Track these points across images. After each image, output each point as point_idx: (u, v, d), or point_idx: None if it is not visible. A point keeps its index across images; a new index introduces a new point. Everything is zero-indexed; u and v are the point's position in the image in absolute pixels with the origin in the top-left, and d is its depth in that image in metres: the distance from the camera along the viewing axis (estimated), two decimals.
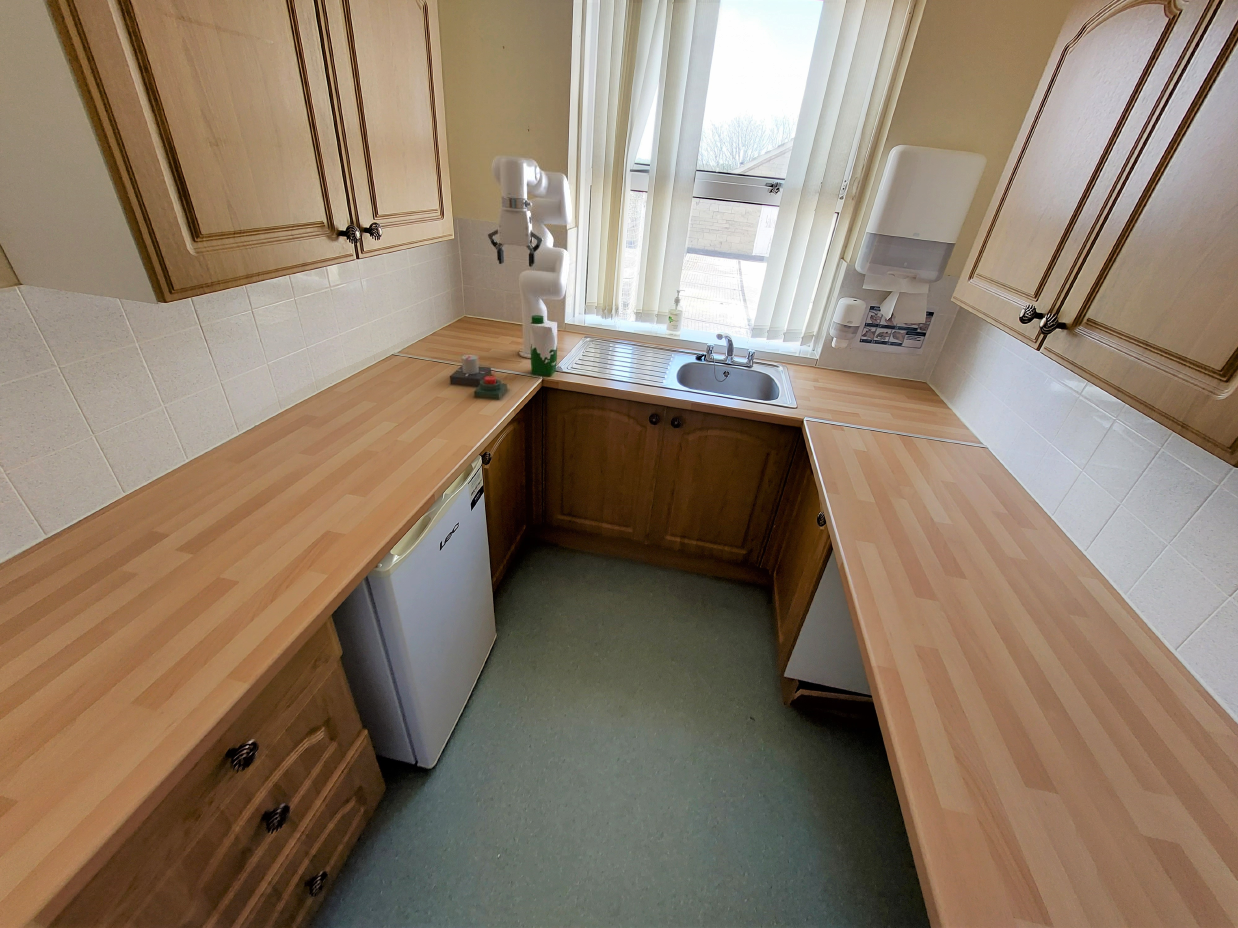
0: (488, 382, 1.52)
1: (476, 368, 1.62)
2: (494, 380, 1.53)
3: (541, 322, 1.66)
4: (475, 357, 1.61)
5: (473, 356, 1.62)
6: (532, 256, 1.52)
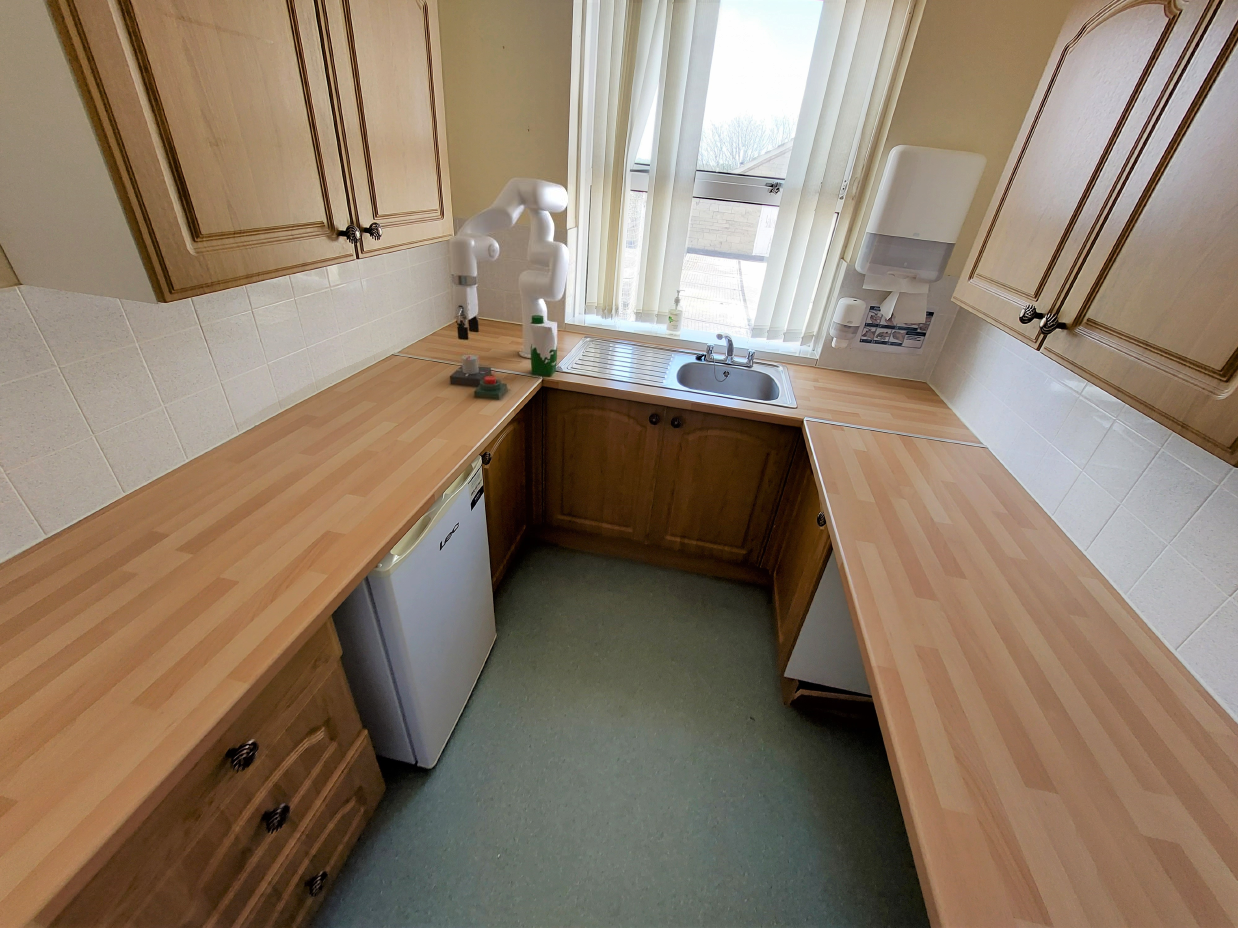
0: (488, 382, 1.52)
1: (476, 368, 1.62)
2: (494, 380, 1.53)
3: (541, 322, 1.66)
4: (475, 357, 1.61)
5: (473, 356, 1.62)
6: None
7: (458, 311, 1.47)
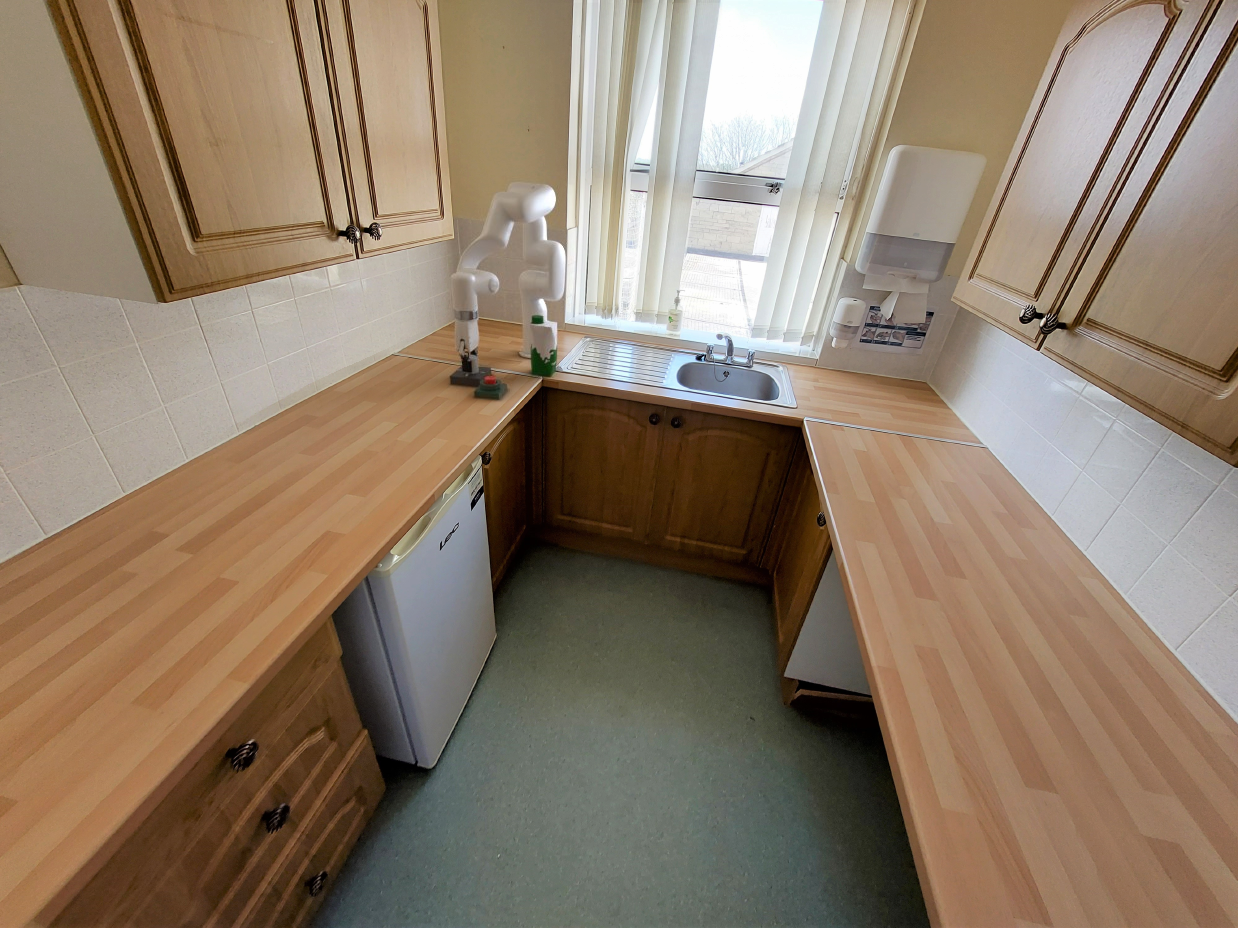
0: (488, 382, 1.52)
1: (476, 368, 1.62)
2: (494, 380, 1.53)
3: (541, 322, 1.66)
4: (475, 357, 1.61)
5: (473, 356, 1.62)
6: None
7: (461, 348, 1.53)
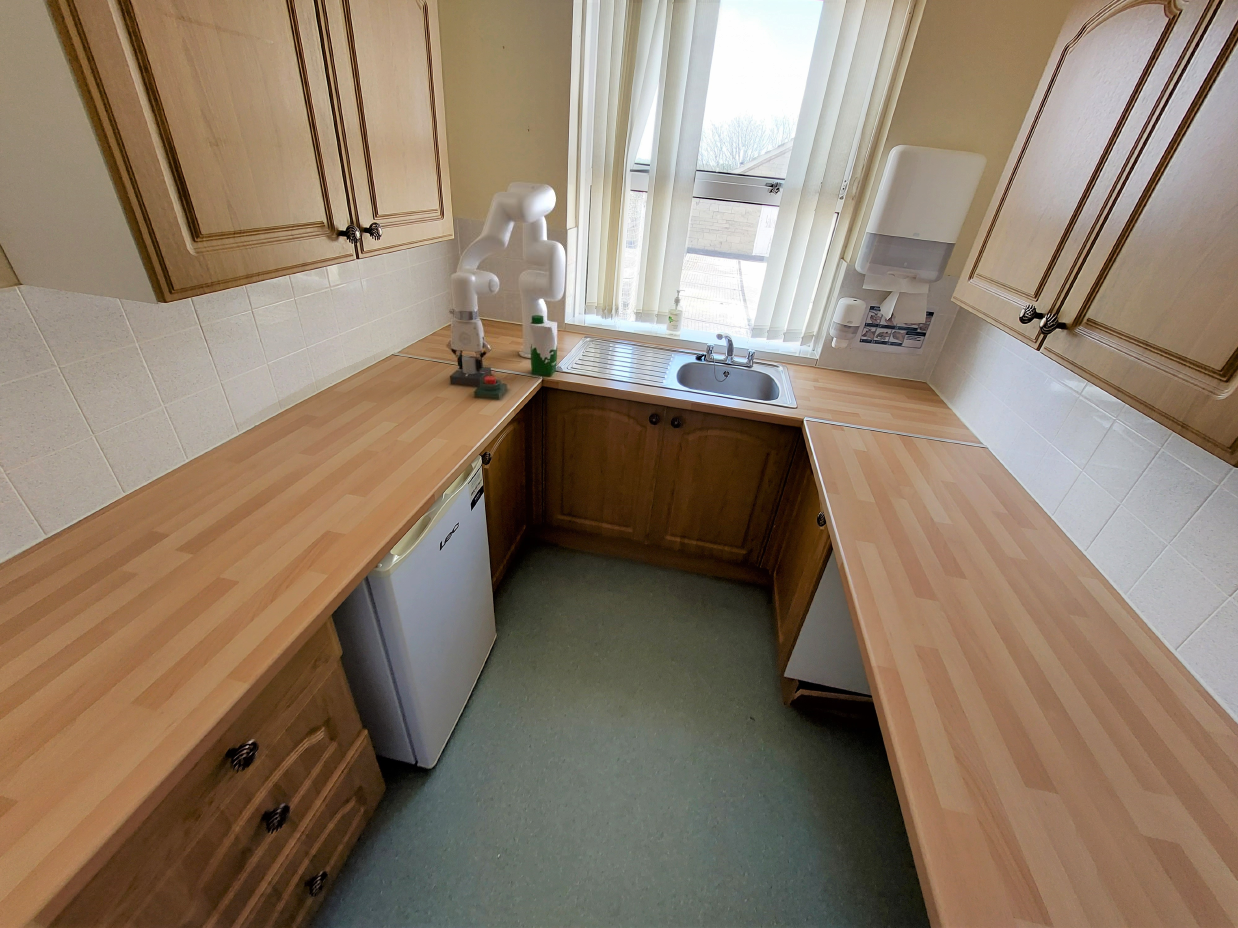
0: (488, 382, 1.52)
1: None
2: (494, 380, 1.53)
3: (541, 322, 1.66)
4: (471, 355, 1.63)
5: (467, 355, 1.62)
6: None
7: (487, 345, 1.58)
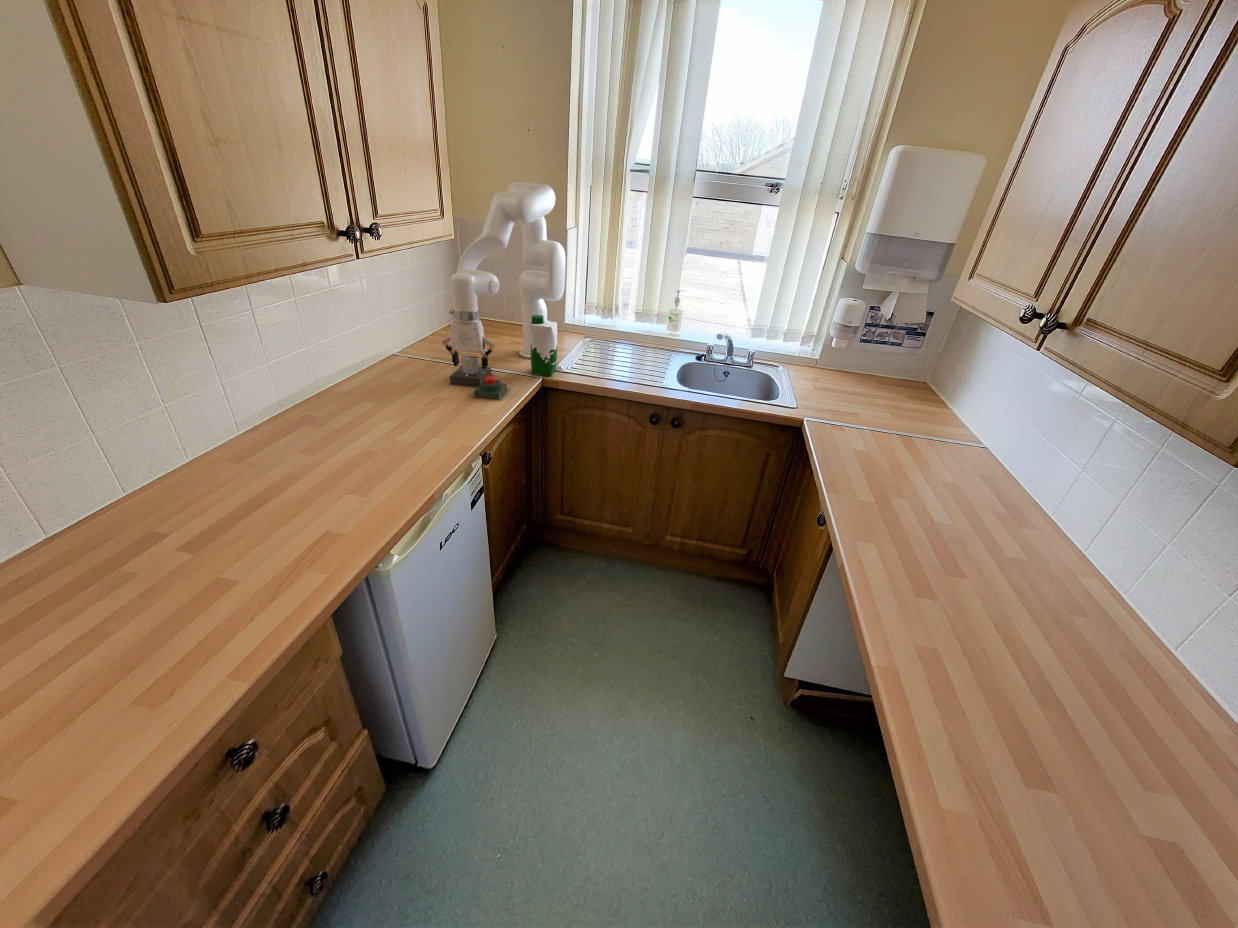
0: (488, 382, 1.52)
1: None
2: (494, 380, 1.53)
3: (541, 322, 1.66)
4: (471, 355, 1.63)
5: (467, 355, 1.62)
6: None
7: (489, 341, 1.58)
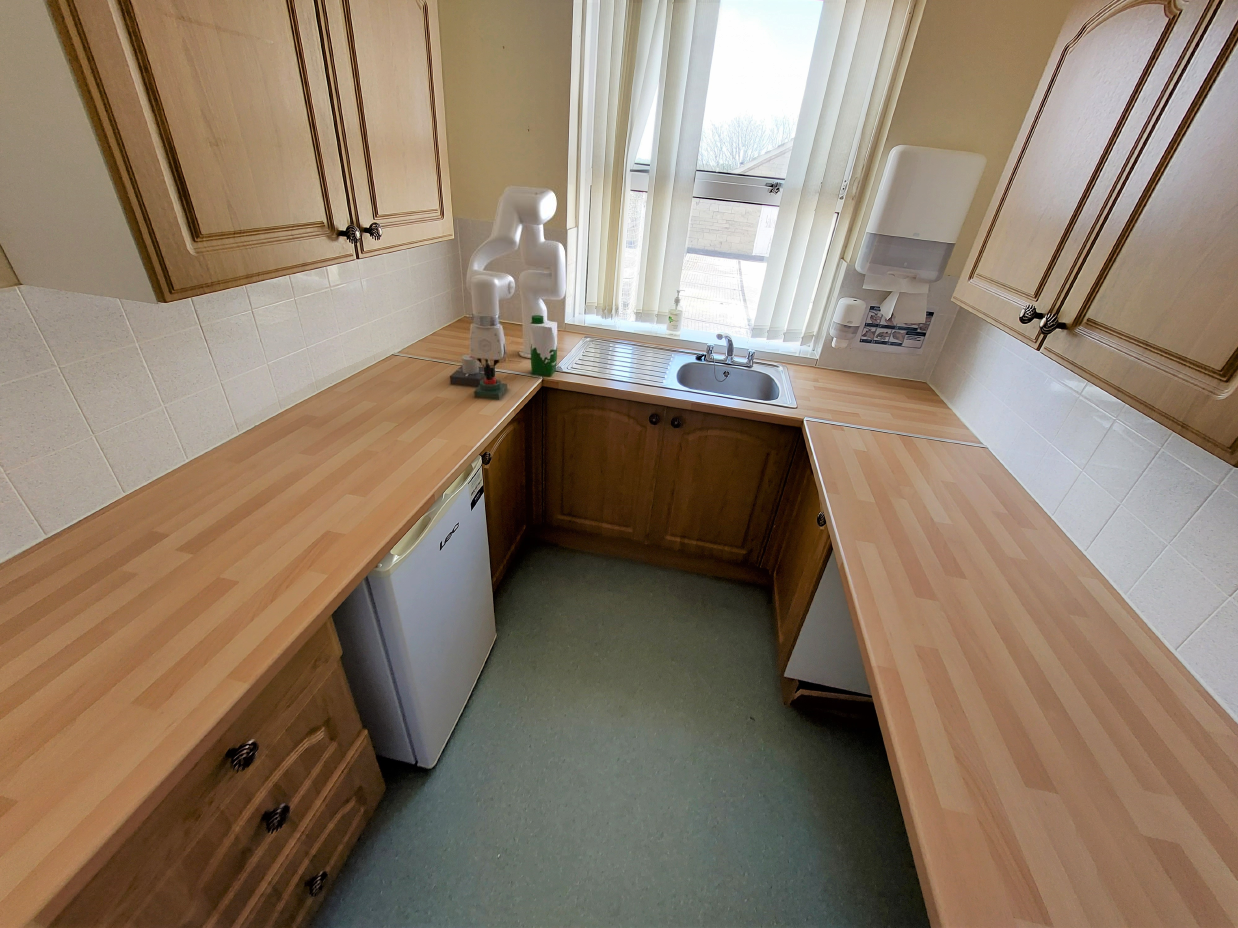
0: (488, 382, 1.52)
1: None
2: (494, 380, 1.53)
3: (541, 322, 1.66)
4: None
5: (467, 355, 1.62)
6: None
7: (504, 355, 1.49)
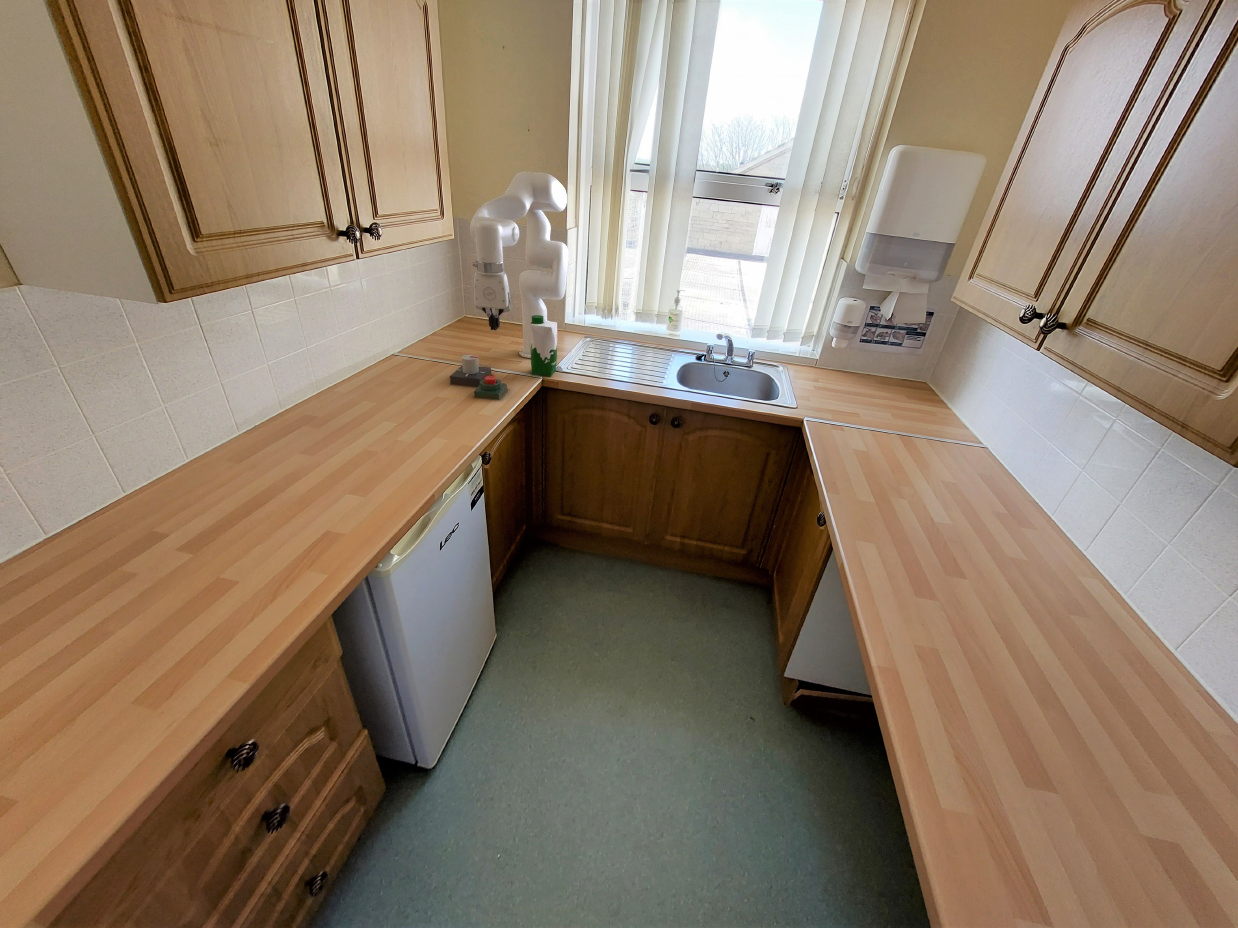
0: (488, 382, 1.52)
1: None
2: (494, 380, 1.53)
3: (541, 322, 1.66)
4: (471, 355, 1.63)
5: (467, 355, 1.62)
6: None
7: (508, 304, 1.48)
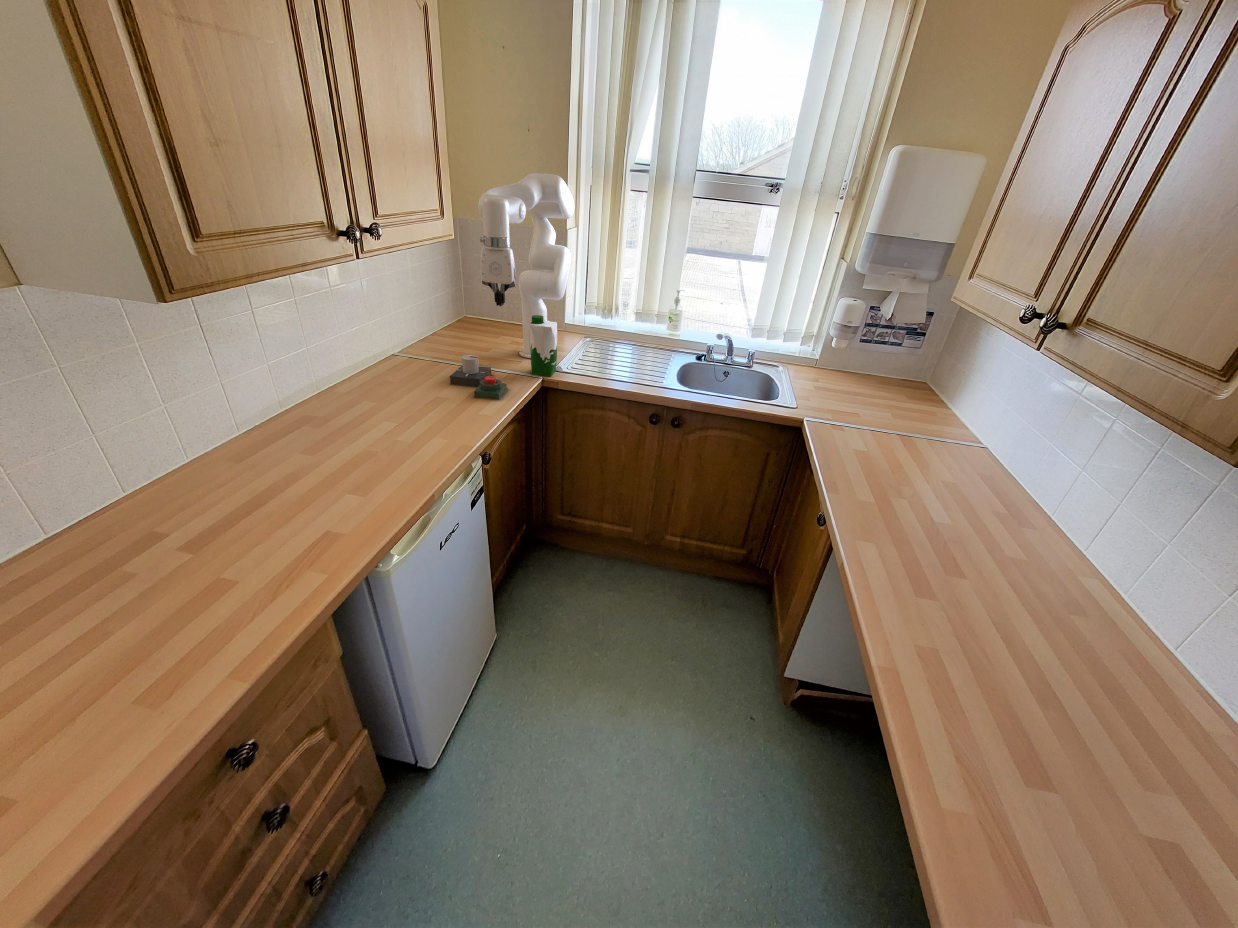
0: (488, 382, 1.52)
1: None
2: (494, 380, 1.53)
3: (541, 322, 1.66)
4: (471, 355, 1.63)
5: (467, 355, 1.62)
6: None
7: (514, 280, 1.51)
